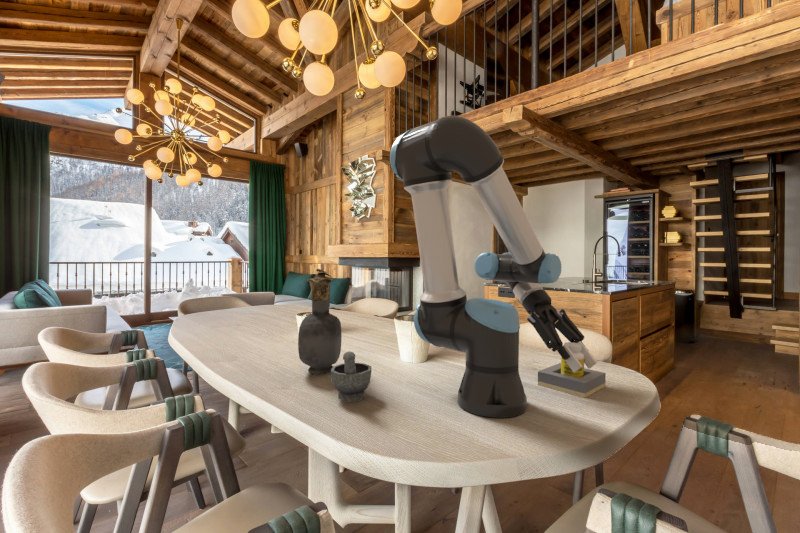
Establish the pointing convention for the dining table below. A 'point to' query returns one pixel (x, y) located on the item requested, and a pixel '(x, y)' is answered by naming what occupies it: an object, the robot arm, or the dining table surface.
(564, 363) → the supplement bottle
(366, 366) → the mortar and pestle
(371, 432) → the dining table surface
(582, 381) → the socket block
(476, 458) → the dining table surface
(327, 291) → the dark decorative bottle
